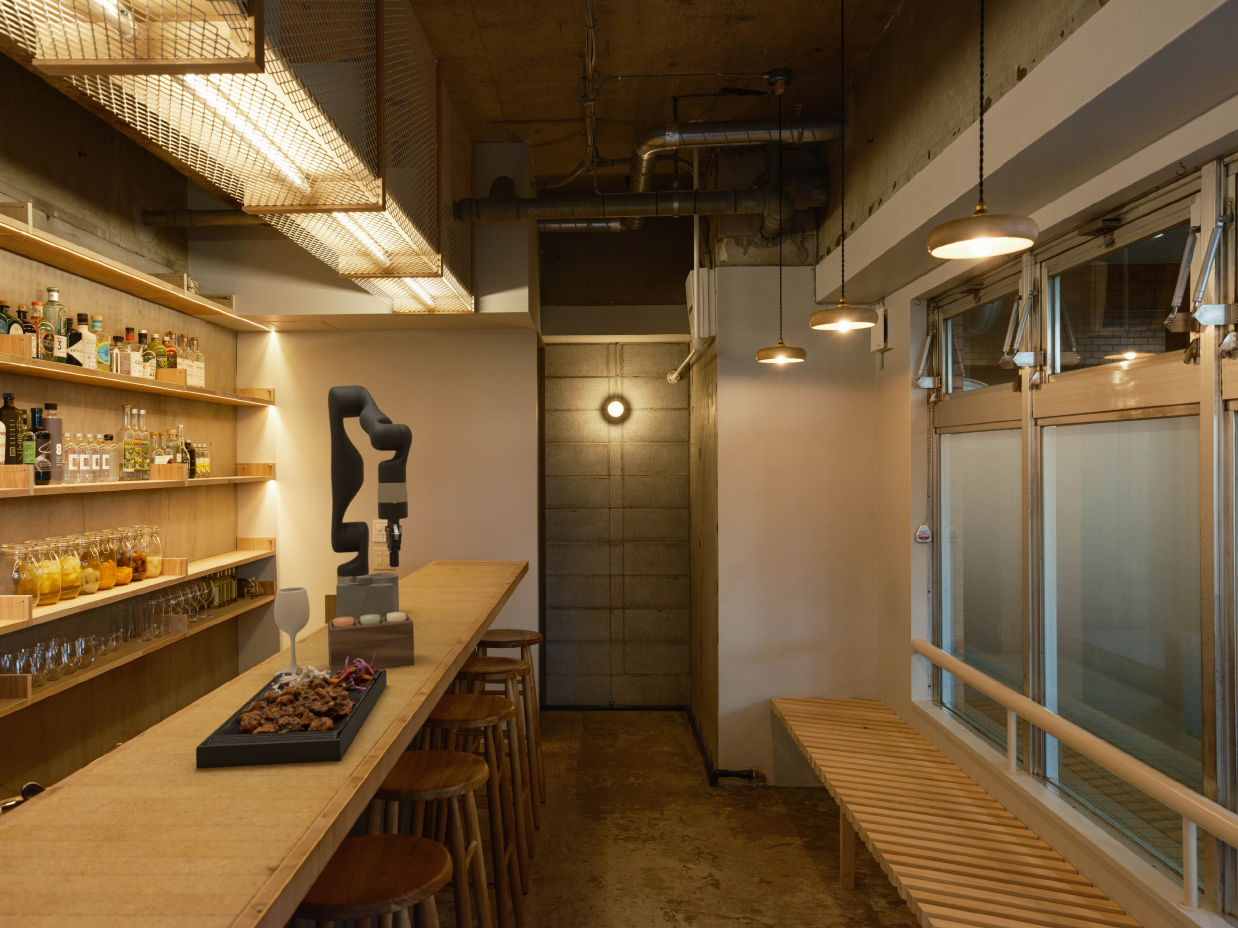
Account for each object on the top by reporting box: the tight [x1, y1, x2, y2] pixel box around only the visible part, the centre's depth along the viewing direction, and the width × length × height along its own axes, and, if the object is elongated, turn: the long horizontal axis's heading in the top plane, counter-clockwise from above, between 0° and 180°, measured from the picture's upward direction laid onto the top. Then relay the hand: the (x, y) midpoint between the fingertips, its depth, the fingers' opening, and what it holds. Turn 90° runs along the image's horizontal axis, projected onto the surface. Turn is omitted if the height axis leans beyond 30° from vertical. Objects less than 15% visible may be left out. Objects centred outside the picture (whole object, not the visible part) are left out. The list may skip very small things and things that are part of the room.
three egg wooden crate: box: [327, 613, 415, 671], centre depth 206 cm, size 11×20×11 cm, turn 113°
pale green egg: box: [360, 614, 380, 625], centre depth 206 cm, size 5×5×4 cm
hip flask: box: [335, 576, 393, 619], centre depth 224 cm, size 16×4×20 cm, turn 87°
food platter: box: [195, 653, 388, 770], centre depth 164 cm, size 45×25×10 cm, turn 6°
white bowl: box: [273, 586, 311, 677], centre depth 199 cm, size 9×9×21 cm
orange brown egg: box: [333, 617, 354, 628], centre depth 204 cm, size 5×5×4 cm
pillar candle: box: [369, 570, 400, 612], centre depth 265 cm, size 10×10×15 cm
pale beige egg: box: [387, 611, 407, 623], centre depth 209 cm, size 5×5×4 cm
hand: (394, 566), depth 209 cm, fingers closed
